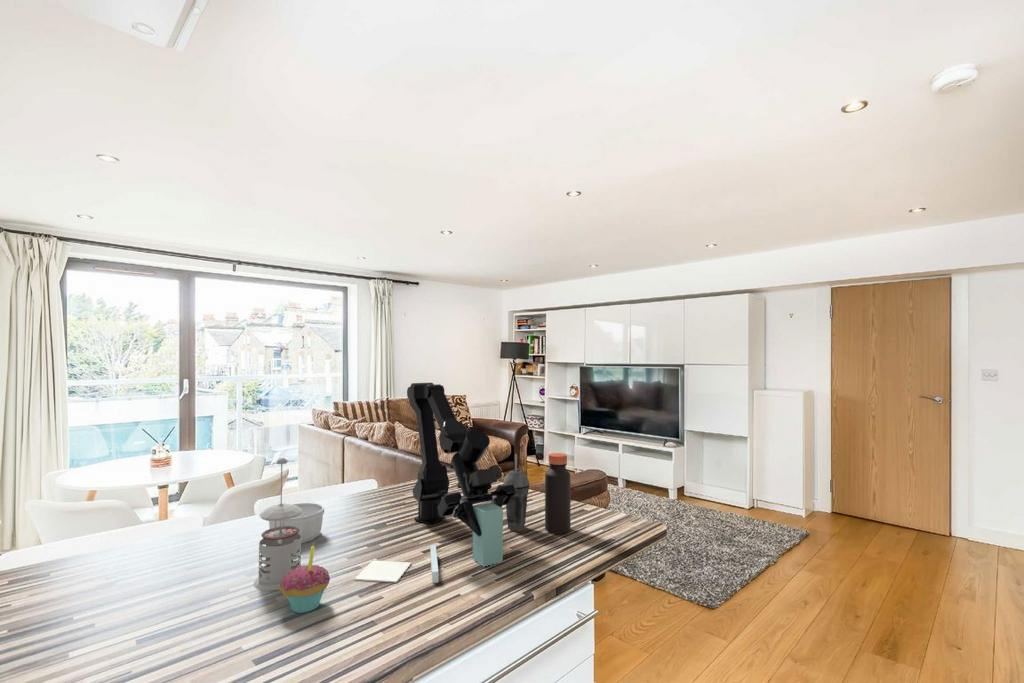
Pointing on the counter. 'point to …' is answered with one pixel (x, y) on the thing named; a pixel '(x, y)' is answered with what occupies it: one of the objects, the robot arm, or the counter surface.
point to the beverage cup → (517, 498)
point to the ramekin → (304, 521)
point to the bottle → (557, 495)
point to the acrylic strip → (434, 564)
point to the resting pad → (383, 571)
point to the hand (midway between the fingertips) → (490, 533)
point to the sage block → (488, 534)
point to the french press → (277, 556)
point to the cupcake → (305, 585)
